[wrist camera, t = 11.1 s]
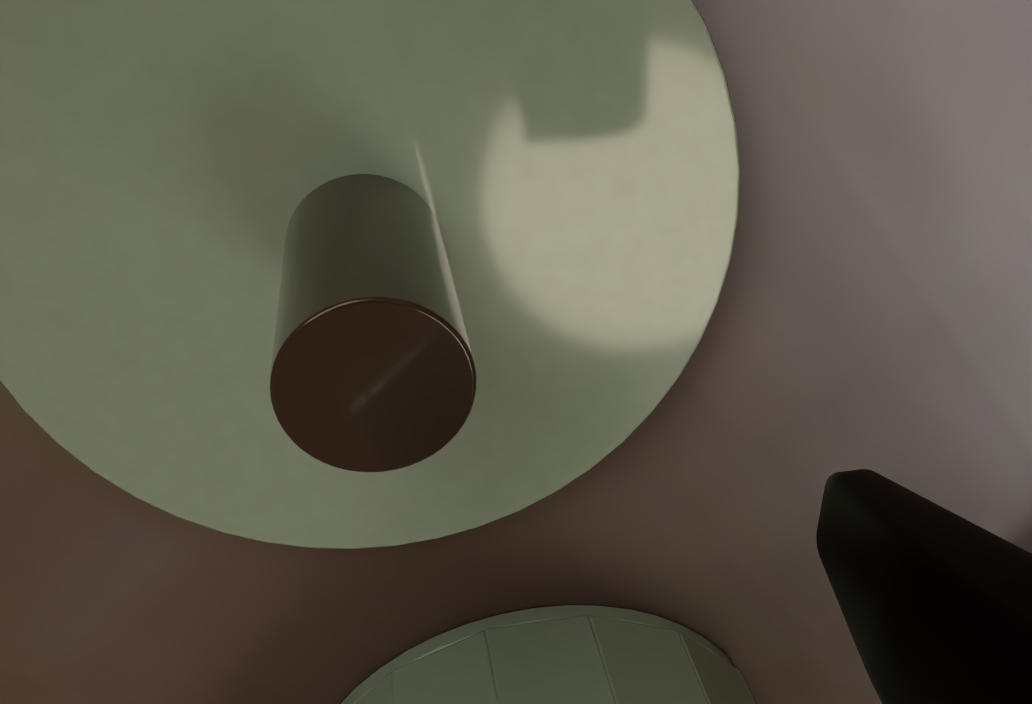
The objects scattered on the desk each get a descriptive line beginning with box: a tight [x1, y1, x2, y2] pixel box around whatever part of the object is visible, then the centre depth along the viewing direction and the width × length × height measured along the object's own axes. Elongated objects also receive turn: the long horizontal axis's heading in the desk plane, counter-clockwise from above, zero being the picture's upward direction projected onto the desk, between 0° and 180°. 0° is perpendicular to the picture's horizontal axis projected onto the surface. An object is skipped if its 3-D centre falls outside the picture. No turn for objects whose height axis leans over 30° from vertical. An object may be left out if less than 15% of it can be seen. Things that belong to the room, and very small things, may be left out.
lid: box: [0, 0, 740, 549], centre depth 14 cm, size 13×13×6 cm
